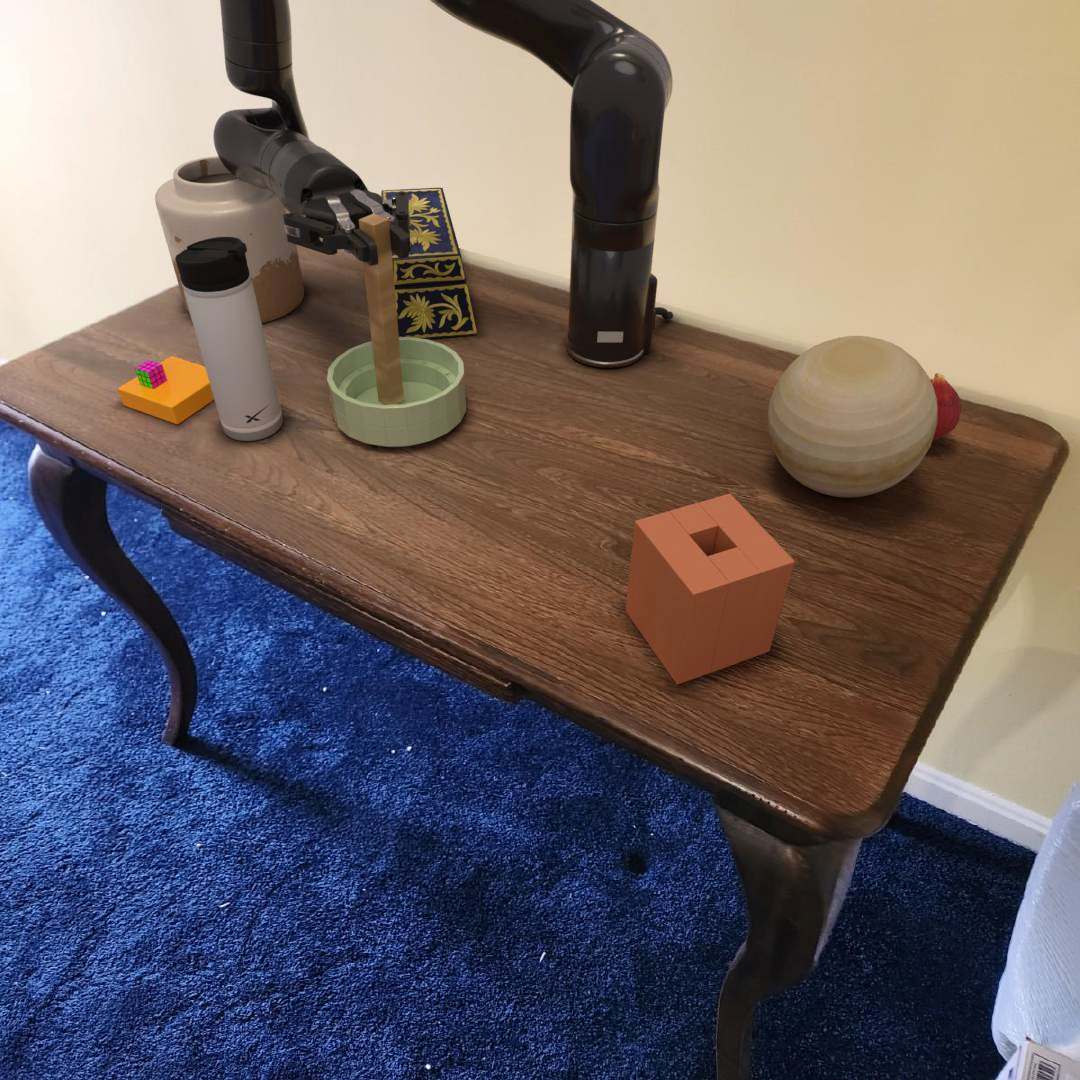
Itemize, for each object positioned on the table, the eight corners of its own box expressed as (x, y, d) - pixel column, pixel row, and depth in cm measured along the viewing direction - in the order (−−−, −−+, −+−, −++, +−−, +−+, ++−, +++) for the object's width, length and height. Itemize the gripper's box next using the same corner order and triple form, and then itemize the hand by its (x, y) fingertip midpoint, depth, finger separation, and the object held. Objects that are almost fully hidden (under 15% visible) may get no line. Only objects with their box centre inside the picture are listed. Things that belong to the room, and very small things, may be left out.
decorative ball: (943, 504, 83) (1000, 368, 73) (818, 547, 78) (861, 408, 68) (840, 424, 93) (878, 295, 83) (725, 458, 88) (750, 325, 78)
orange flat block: (176, 372, 100) (166, 339, 97) (229, 389, 97) (220, 356, 94) (123, 405, 94) (110, 371, 92) (177, 425, 92) (166, 391, 89)
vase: (289, 329, 108) (263, 195, 96) (168, 326, 108) (127, 192, 97) (316, 275, 119) (294, 149, 108) (206, 272, 119) (173, 146, 108)
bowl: (442, 370, 101) (438, 327, 97) (485, 434, 91) (483, 389, 87) (321, 395, 96) (313, 352, 93) (353, 465, 87) (346, 420, 83)
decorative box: (390, 342, 105) (382, 272, 99) (379, 243, 127) (372, 181, 121) (477, 335, 107) (474, 266, 101) (452, 239, 129) (448, 177, 123)
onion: (950, 433, 92) (976, 367, 87) (944, 462, 88) (971, 395, 83) (894, 420, 94) (916, 355, 88) (886, 448, 90) (908, 381, 85)
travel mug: (271, 446, 89) (226, 261, 76) (212, 438, 90) (158, 254, 77) (296, 413, 94) (257, 233, 80) (239, 406, 95) (192, 227, 81)
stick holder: (712, 582, 75) (730, 492, 68) (769, 651, 69) (795, 561, 62) (624, 610, 72) (634, 520, 65) (676, 685, 66) (693, 594, 60)
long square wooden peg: (404, 400, 93) (389, 218, 80) (391, 408, 92) (373, 225, 79) (391, 393, 94) (373, 213, 81) (378, 401, 93) (358, 219, 80)
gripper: (244, 163, 84) (312, 226, 74) (375, 141, 90) (455, 197, 80) (259, 237, 89) (324, 306, 79) (381, 212, 95) (457, 274, 85)
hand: (389, 251), depth 79 cm, fingers closed on long square wooden peg, 2 cm apart
